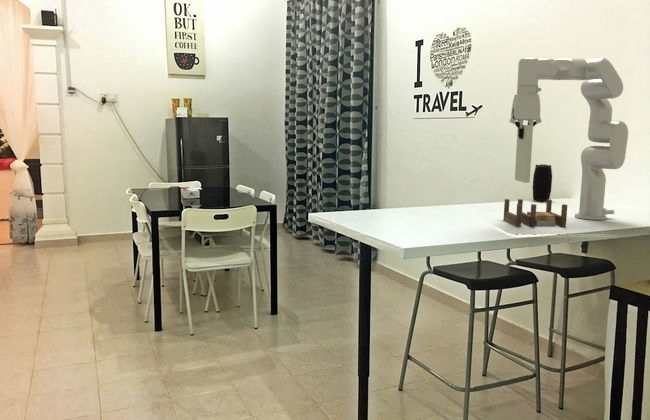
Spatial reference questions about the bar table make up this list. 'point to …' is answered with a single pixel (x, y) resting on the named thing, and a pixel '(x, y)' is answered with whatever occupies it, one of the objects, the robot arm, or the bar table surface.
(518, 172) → the sheet
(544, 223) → the offcut
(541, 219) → the offcut
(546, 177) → the portable speaker
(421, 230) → the bar table surface
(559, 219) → the rack
